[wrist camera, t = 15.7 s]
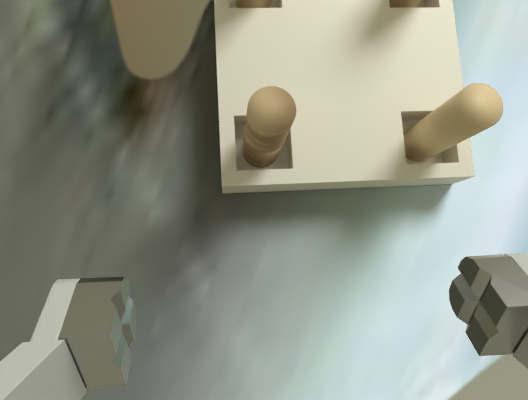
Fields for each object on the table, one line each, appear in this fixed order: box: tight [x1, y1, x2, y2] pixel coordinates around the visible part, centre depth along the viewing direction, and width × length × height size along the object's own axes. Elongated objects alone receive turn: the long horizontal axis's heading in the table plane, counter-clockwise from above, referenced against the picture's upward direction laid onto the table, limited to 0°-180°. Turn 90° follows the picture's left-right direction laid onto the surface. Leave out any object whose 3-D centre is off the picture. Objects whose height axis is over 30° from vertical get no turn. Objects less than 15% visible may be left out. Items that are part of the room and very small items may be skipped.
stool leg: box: [242, 86, 296, 168], centre depth 36 cm, size 4×4×11 cm
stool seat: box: [214, 0, 503, 194], centre depth 38 cm, size 24×24×12 cm
